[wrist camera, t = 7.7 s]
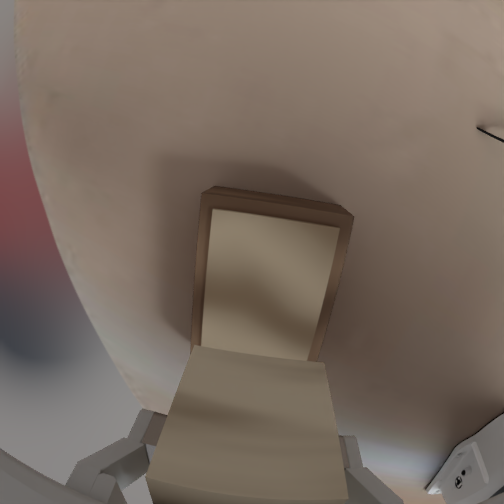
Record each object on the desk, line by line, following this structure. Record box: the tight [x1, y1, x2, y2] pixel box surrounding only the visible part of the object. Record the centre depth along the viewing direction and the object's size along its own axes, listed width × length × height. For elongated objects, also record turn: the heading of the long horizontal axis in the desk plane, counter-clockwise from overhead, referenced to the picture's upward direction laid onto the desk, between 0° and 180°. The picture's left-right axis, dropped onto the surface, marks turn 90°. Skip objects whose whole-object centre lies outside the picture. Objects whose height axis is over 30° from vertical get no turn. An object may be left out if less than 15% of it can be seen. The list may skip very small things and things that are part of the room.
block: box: [145, 345, 349, 504], centre depth 9 cm, size 5×5×6 cm
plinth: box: [190, 186, 354, 362], centre depth 21 cm, size 14×9×4 cm, turn 172°
